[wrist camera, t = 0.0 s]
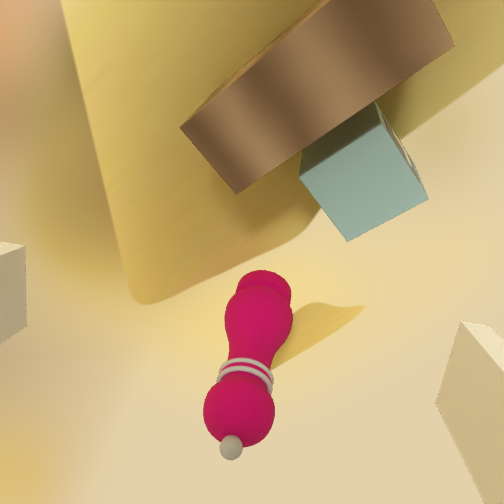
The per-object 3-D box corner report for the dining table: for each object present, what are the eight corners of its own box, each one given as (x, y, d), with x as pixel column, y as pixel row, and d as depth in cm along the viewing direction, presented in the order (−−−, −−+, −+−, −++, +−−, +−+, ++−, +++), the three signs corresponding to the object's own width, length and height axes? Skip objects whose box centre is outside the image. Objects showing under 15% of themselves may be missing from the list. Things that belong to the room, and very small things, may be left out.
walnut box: (382, -53, 29) (401, -60, 21) (422, 25, 31) (454, 45, 23) (214, 91, 36) (179, 127, 28) (256, 146, 38) (236, 194, 30)
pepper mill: (220, 286, 49) (164, 447, 32) (265, 254, 45) (227, 417, 29) (263, 323, 51) (230, 491, 34) (308, 295, 47) (296, 469, 31)
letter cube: (374, 97, 34) (382, 122, 29) (415, 162, 37) (430, 198, 31) (303, 145, 38) (298, 177, 32) (345, 202, 40) (347, 241, 35)
